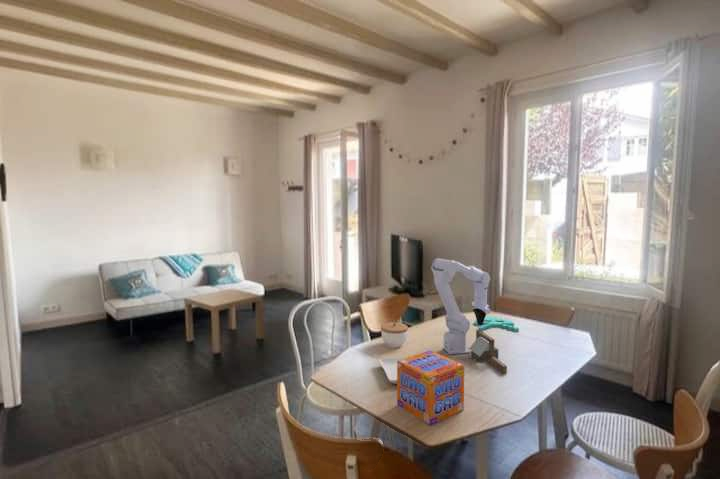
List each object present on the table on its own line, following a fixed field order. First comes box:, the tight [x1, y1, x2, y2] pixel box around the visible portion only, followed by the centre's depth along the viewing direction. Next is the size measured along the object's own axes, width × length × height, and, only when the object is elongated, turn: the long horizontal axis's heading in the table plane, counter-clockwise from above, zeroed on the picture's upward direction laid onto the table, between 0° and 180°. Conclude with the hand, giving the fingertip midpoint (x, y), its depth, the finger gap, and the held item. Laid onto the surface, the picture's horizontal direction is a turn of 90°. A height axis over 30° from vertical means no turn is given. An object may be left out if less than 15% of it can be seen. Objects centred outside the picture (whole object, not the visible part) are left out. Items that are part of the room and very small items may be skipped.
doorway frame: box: [475, 329, 508, 375], centre depth 167 cm, size 2×23×10 cm, turn 11°
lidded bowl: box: [380, 321, 409, 349], centre depth 188 cm, size 13×13×11 cm
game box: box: [396, 350, 465, 426], centre depth 131 cm, size 16×16×16 cm
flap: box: [469, 336, 489, 357], centre depth 172 cm, size 1×9×7 cm
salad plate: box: [377, 356, 409, 385], centre depth 157 cm, size 21×21×3 cm
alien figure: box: [474, 316, 520, 333], centre depth 216 cm, size 20×2×20 cm
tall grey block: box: [470, 346, 499, 362], centre depth 172 cm, size 10×5×4 cm, turn 100°
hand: (480, 324), depth 188 cm, fingers closed
